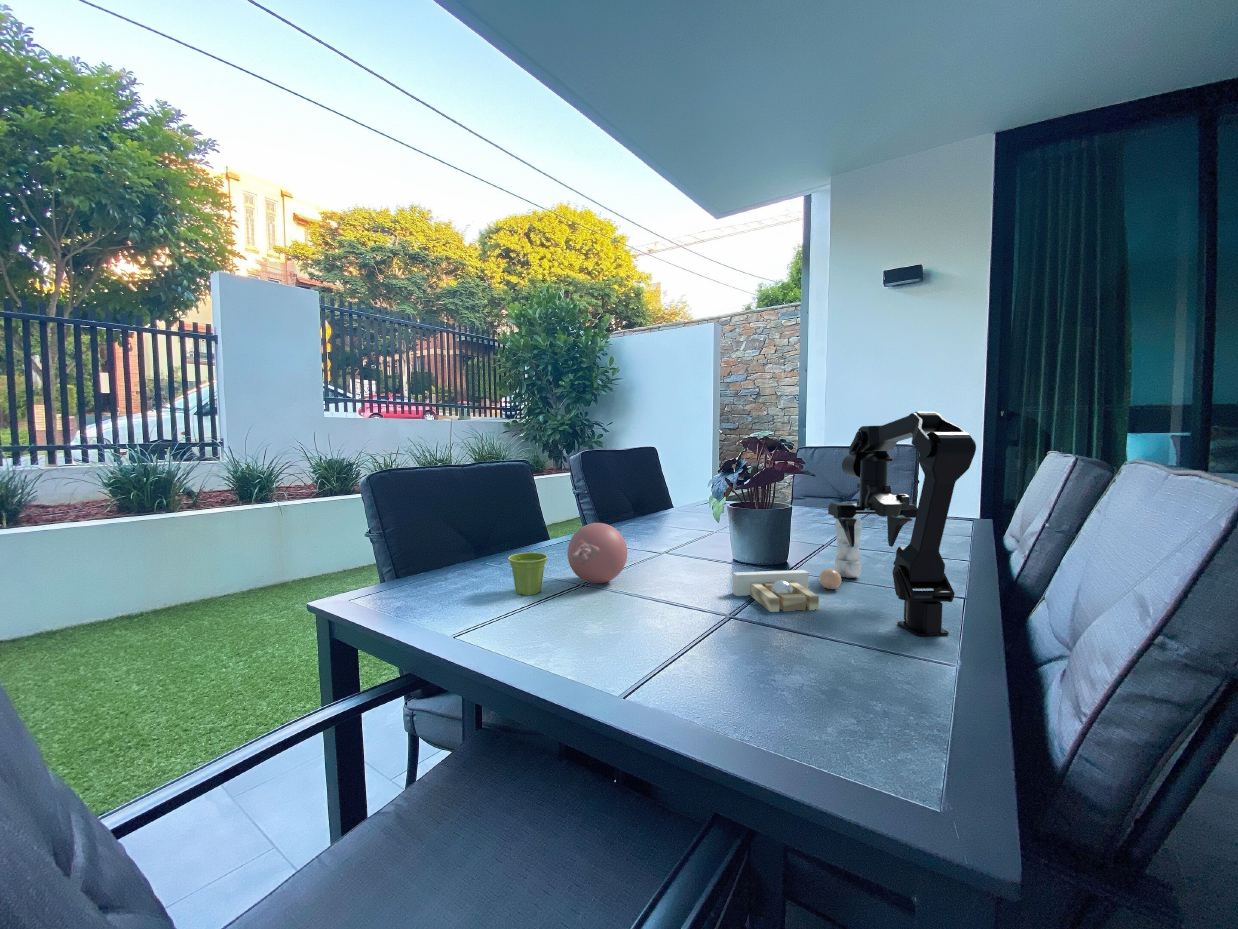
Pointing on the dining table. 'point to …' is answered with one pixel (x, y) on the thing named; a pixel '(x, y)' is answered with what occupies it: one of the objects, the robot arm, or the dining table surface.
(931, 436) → the robot arm
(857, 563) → the plastic bottle
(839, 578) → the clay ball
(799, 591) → the beech collar
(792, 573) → the stop block
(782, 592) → the steel ball
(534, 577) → the plant pot
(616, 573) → the pink ball
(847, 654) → the dining table surface
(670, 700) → the dining table surface
